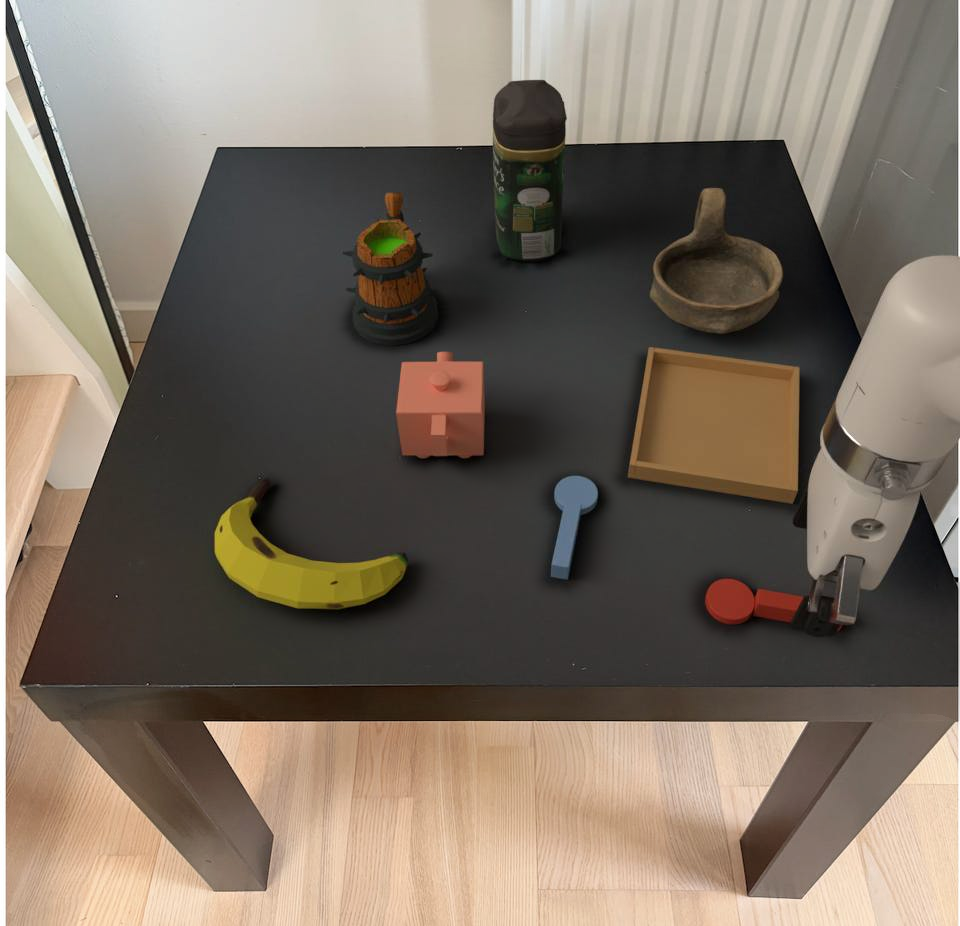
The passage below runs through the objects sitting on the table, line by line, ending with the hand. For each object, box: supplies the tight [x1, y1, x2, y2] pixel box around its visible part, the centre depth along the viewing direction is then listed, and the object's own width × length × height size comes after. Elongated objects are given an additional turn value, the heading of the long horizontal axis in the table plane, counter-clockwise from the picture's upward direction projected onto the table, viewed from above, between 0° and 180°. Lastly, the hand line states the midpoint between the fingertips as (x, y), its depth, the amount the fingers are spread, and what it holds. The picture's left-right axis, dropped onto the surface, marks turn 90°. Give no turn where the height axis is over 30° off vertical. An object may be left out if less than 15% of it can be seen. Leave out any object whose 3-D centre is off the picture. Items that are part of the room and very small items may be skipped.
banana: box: [214, 478, 409, 610], centre depth 81 cm, size 5×17×15 cm
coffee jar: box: [492, 79, 568, 262], centre depth 102 cm, size 10×8×19 cm
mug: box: [342, 192, 440, 347], centre depth 98 cm, size 13×10×12 cm
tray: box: [627, 346, 801, 505], centre depth 89 cm, size 15×16×2 cm
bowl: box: [649, 187, 784, 335], centre depth 98 cm, size 14×18×10 cm
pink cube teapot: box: [395, 351, 486, 459], centre depth 87 cm, size 8×12×8 cm, turn 179°
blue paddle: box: [550, 475, 599, 581], centre depth 82 cm, size 11×4×2 cm, turn 167°
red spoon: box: [704, 578, 843, 632], centre depth 76 cm, size 11×4×2 cm, turn 77°
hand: (811, 576), depth 72 cm, fingers open, 9 cm apart
